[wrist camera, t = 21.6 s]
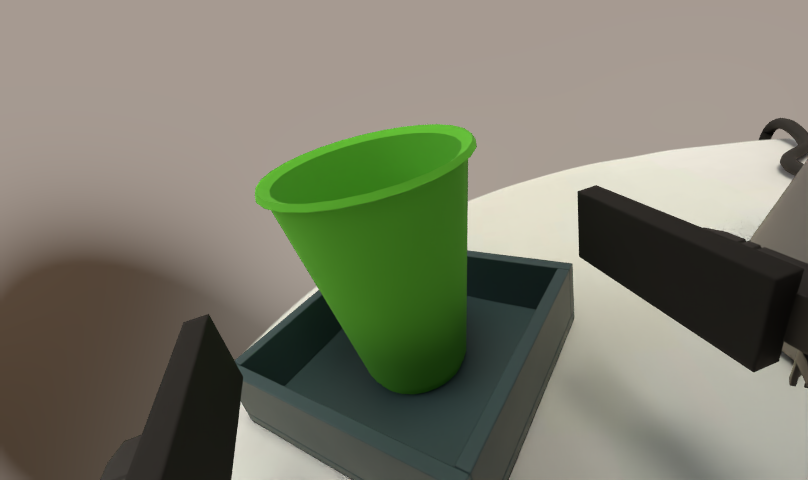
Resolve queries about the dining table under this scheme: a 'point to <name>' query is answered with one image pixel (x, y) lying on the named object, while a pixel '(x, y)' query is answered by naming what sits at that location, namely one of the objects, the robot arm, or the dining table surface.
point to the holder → (425, 412)
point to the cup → (386, 244)
